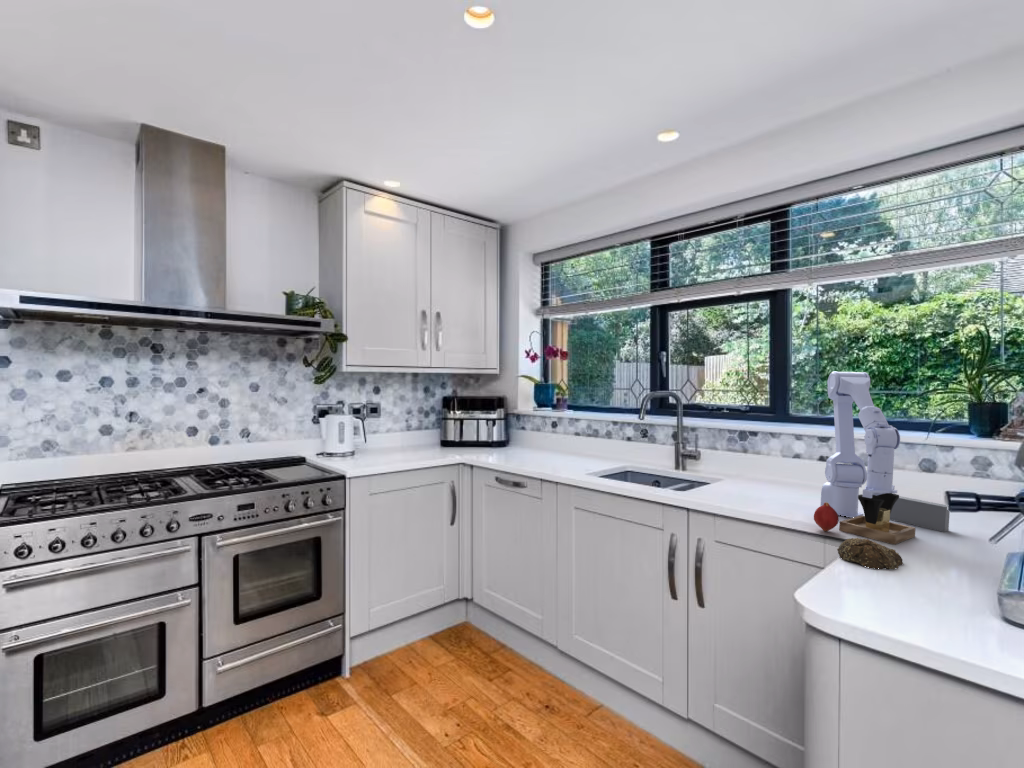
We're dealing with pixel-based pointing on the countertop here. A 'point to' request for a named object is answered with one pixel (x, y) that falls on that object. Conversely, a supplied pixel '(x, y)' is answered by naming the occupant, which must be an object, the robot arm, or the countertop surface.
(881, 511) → the brass block
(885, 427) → the robot arm
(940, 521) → the wall unit
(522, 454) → the countertop surface
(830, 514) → the onion
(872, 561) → the bread roll
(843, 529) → the tray
